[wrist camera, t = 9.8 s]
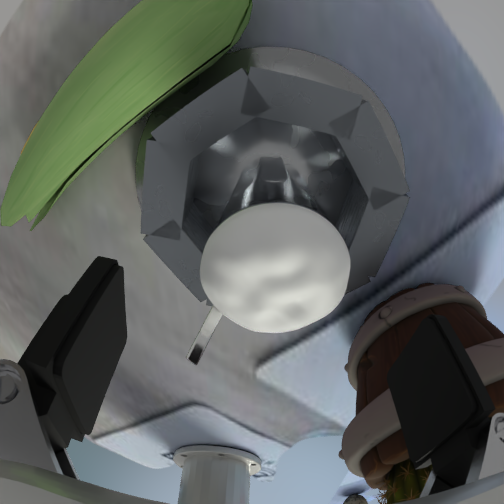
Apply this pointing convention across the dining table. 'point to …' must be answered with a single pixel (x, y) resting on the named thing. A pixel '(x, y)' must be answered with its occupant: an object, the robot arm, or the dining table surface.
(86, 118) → the edible corn
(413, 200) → the dining table surface
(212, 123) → the collar
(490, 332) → the flowerpot
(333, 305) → the milkshake
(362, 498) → the decorative egg
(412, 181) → the dining table surface
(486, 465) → the robot arm
